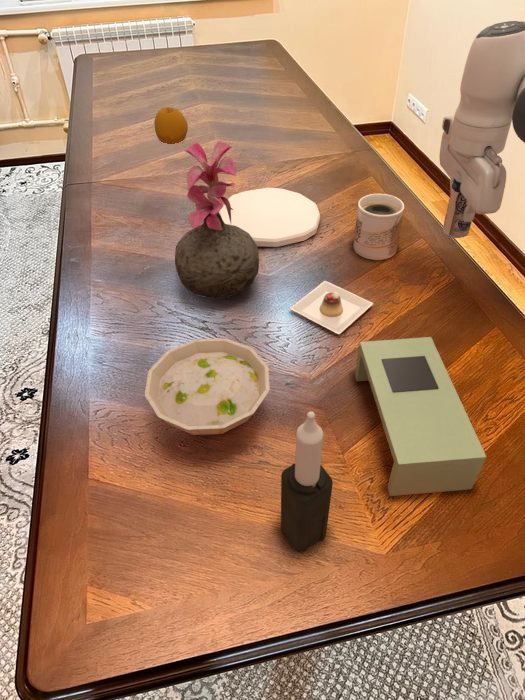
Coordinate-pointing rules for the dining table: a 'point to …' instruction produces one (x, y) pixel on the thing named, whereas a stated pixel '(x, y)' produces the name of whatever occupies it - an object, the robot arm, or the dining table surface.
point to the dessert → (331, 307)
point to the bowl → (207, 385)
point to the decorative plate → (273, 216)
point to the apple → (170, 125)
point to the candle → (306, 490)
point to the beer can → (456, 212)
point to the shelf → (420, 417)
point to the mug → (378, 226)
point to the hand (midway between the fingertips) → (460, 211)
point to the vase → (214, 234)
